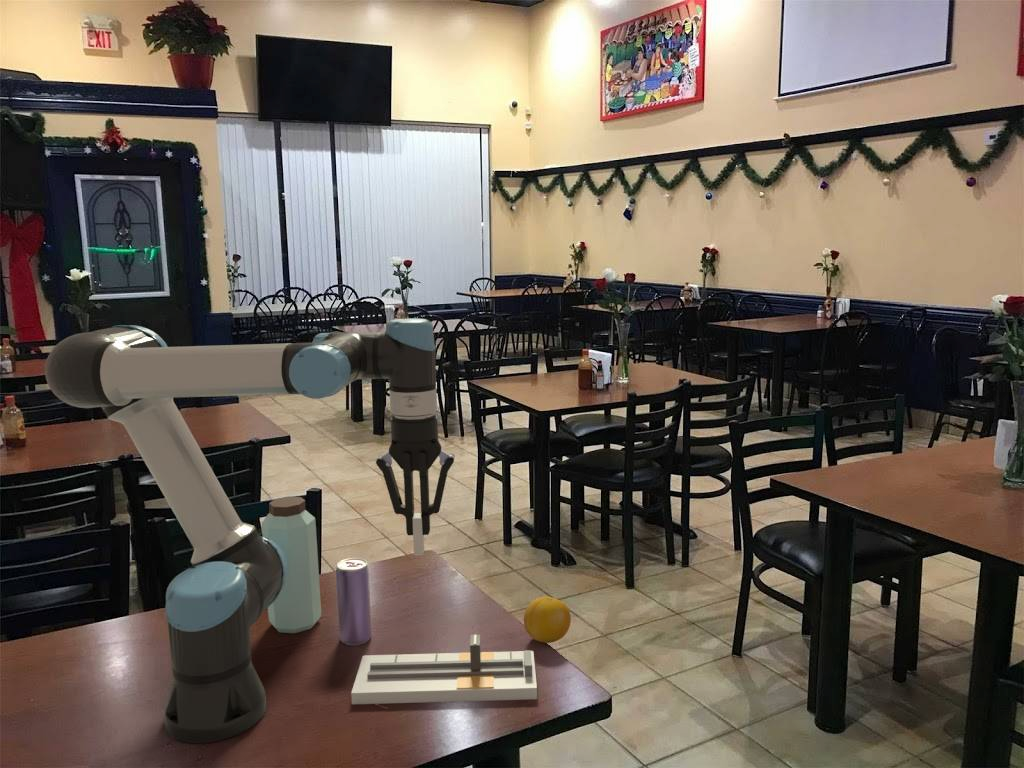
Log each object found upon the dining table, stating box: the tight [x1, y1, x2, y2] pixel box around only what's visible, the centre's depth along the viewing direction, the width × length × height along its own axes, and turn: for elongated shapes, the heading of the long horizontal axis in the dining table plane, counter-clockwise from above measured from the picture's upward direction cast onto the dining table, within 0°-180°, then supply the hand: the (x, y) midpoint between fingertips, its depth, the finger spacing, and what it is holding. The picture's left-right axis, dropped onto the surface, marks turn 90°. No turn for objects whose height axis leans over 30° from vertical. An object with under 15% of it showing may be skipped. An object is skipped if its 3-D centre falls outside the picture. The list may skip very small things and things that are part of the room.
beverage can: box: [335, 557, 373, 647], centre depth 151 cm, size 6×6×15 cm
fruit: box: [523, 595, 572, 644], centre depth 150 cm, size 9×8×8 cm
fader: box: [469, 634, 482, 670], centre depth 136 cm, size 2×4×6 cm, turn 1°
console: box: [350, 649, 538, 705], centre depth 137 cm, size 30×12×4 cm, turn 91°
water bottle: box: [261, 496, 322, 634], centre depth 157 cm, size 10×10×25 cm
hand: (419, 552), depth 135 cm, fingers closed
